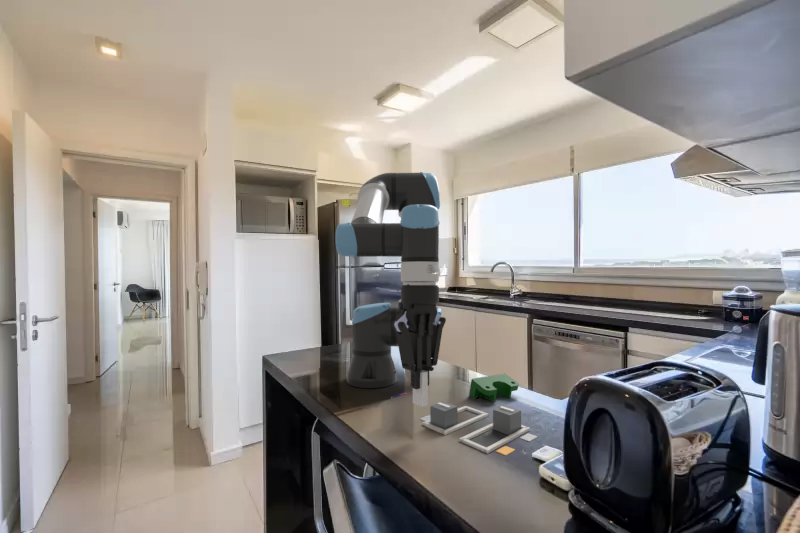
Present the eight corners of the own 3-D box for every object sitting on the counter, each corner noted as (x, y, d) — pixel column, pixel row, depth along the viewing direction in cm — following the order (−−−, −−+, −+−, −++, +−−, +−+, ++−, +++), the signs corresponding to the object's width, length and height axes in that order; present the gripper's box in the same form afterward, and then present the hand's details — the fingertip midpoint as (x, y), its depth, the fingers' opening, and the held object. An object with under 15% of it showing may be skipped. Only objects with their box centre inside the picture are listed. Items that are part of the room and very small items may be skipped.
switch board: (407, 425, 81) (407, 418, 81) (460, 405, 93) (460, 398, 93) (503, 469, 63) (503, 460, 63) (554, 437, 75) (554, 429, 75)
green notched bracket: (487, 422, 94) (480, 394, 90) (472, 409, 99) (466, 382, 95) (523, 398, 98) (518, 371, 94) (507, 386, 103) (502, 360, 99)
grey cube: (493, 429, 77) (492, 408, 77) (504, 423, 79) (504, 403, 79) (510, 435, 74) (510, 413, 74) (521, 430, 76) (521, 408, 76)
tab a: (430, 424, 79) (430, 404, 79) (443, 419, 81) (443, 400, 81) (444, 431, 76) (444, 409, 76) (457, 425, 78) (457, 405, 78)
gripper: (408, 284, 67) (408, 418, 66) (455, 283, 76) (456, 401, 75) (382, 284, 73) (382, 406, 72) (429, 283, 81) (429, 392, 81)
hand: (420, 404), depth 74 cm, fingers closed
